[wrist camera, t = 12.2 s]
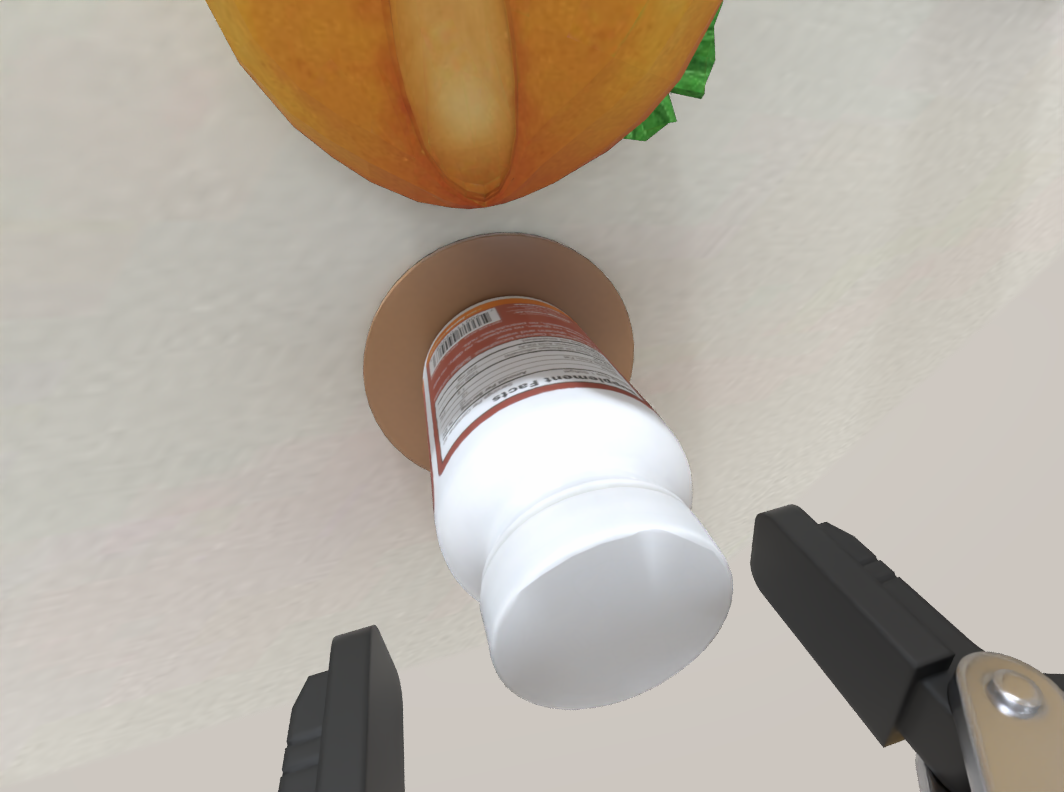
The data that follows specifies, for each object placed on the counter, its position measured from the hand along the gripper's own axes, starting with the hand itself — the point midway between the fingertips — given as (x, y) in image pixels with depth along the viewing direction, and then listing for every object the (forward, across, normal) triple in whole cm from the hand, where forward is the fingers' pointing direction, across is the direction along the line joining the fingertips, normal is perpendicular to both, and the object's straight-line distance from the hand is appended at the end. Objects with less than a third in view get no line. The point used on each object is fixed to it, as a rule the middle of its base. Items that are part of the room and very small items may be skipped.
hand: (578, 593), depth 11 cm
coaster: (+10, 0, 0) cm, 10 cm away
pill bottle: (+10, 0, 0) cm, 10 cm away
